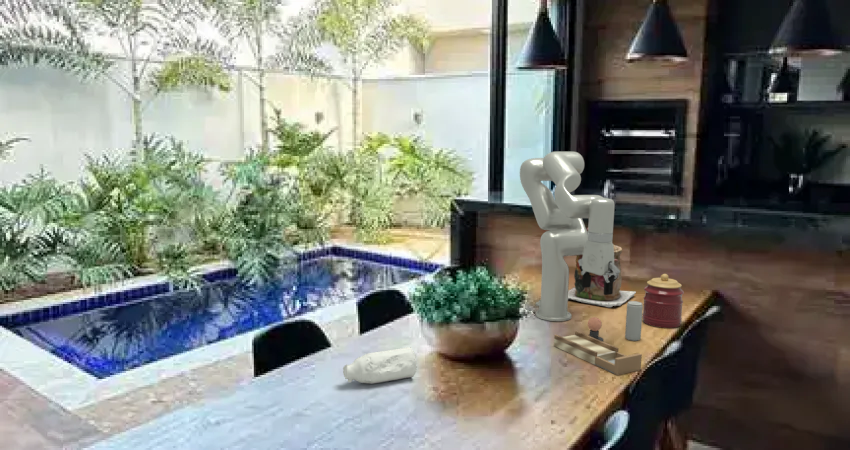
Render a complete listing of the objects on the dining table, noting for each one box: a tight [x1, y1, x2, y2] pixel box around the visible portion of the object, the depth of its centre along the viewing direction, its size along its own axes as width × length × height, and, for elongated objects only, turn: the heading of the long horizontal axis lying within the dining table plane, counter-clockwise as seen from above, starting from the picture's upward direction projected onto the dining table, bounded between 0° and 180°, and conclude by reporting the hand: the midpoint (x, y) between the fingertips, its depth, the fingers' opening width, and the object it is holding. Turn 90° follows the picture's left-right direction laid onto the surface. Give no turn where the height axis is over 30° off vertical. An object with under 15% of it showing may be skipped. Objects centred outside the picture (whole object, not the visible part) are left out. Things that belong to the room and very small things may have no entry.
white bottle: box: [342, 346, 418, 385], centre depth 171 cm, size 8×19×8 cm, turn 116°
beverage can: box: [624, 300, 644, 342], centre depth 208 cm, size 5×5×12 cm
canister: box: [642, 273, 685, 329], centre depth 225 cm, size 13×13×18 cm
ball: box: [587, 316, 603, 331], centre depth 207 cm, size 4×4×4 cm
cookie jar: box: [568, 227, 637, 308], centre depth 257 cm, size 25×25×32 cm
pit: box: [594, 351, 643, 376], centre depth 183 cm, size 9×9×4 cm
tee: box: [589, 329, 604, 342], centre depth 207 cm, size 6×6×3 cm
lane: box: [553, 330, 619, 366], centre depth 195 cm, size 18×9×4 cm, turn 28°
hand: (596, 290), depth 205 cm, fingers open, 9 cm apart
